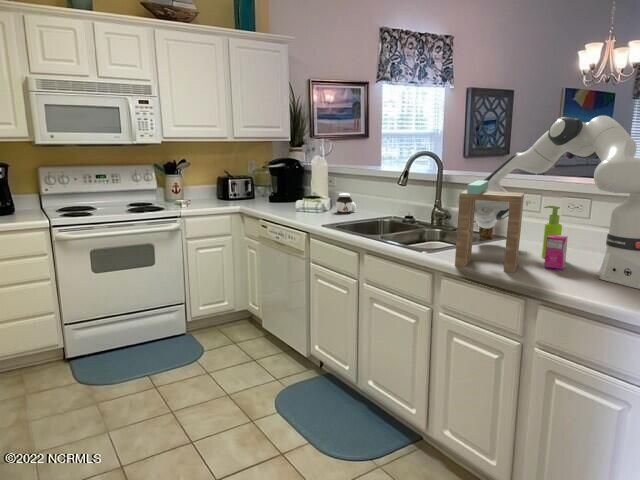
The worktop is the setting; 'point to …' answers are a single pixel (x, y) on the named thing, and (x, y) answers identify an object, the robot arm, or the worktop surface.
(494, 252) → the worktop surface
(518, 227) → the bridge
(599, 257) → the worktop surface
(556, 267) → the supplement box
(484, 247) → the worktop surface
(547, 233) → the soap dispenser
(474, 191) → the bar
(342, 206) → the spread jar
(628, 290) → the worktop surface
